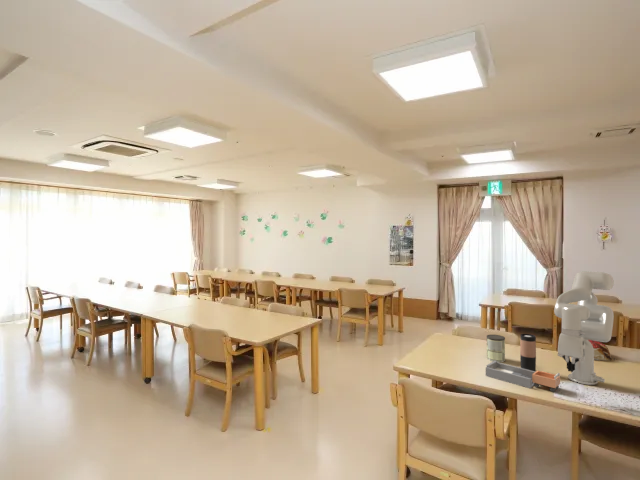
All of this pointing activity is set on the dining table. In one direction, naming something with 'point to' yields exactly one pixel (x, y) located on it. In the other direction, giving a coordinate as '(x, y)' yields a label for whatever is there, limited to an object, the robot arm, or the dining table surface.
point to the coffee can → (496, 348)
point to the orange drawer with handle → (546, 379)
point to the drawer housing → (510, 374)
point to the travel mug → (528, 352)
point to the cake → (600, 351)
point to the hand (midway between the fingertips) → (570, 370)
